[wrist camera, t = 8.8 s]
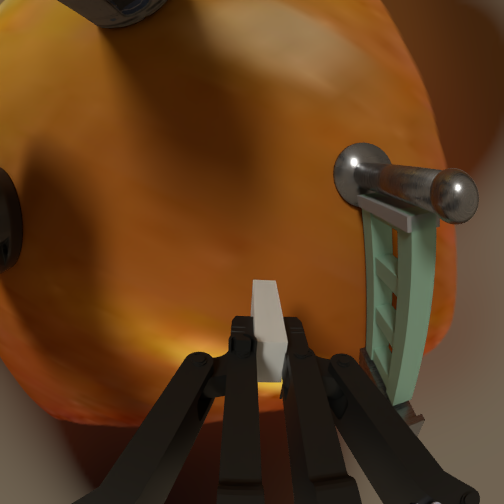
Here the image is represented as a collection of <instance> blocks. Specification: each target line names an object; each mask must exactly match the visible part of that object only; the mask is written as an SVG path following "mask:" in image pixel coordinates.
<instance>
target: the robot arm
mask: <svg viewBox="0 0 504 504" xmlns="http://www.w3.org/2000/svg"><path fill="white" fill-rule="evenodd" d="M21 245H22V218H21V211H20V206H19V201H18V197H17V194H16V191H15V188H14V186H13V183H12V181H11V179H10V178H9V176H8V175H7V173H6V172H5V171H4V170H3V169H2V168H1V167H0V273H3V272H4V271H6V270H7V269H9V268H11V267H12V266H13V265H14V264H15V263H16V261H17V259H18V257H19V254H20V250H21ZM281 379H282V380H283V384H282V389H281V394H280V399H282V397H283V405H284V414H285V421H286V431H287V439H288V448H289V456H290V466H291V474H292V483H293V493H294V504H362V503H361V498H360V494H359V490H358V487H357V483H356V481H355V479H354V478H353V477H351V476H349V475H348V474H347V471H346V467H345V463H344V459H343V455H342V451H341V447H340V443H339V439H338V436H337V432H336V428H335V426H336V427H337V429H338V431H339V432H340V434H341V436H342V437H343V439H344V440H345V442H346V444H347V445H348V447H349V449H350V450H351V452H352V454H353V455H354V457H355V459H356V460H357V462H358V463H359V465H360V467H361V468H362V470H363V472H364V473H365V475H366V476H367V478H368V480H369V481H370V483H371V485H372V486H373V488H374V489H375V491H376V493H377V494H378V496H379V497H380V499H381V500H382V502H383V504H479V502H480V496H479V493H478V491H476V490H475V489H474V488H472V487H470V486H469V485H467V484H465V483H463V482H462V481H460V480H458V479H457V478H455V477H453V476H451V475H450V474H448V473H446V472H445V471H443V469H442V468H441V467H440V465H439V464H438V463H437V461H436V460H435V459H434V458H433V456H432V455H431V454H430V453H429V451H428V450H427V449H426V448H425V446H424V445H423V444H422V442H421V441H420V440H419V439H418V437H417V436H416V435H415V434H414V432H413V431H412V430H411V429H410V427H409V426H408V425H407V424H406V422H405V421H404V420H403V419H402V417H401V416H400V415H399V414H398V412H397V411H396V410H395V409H394V407H393V406H392V405H391V404H390V402H389V401H388V400H387V399H386V397H385V396H384V395H383V394H382V393H381V391H380V390H379V389H378V388H377V386H376V385H375V384H374V383H373V381H372V380H371V379H370V378H369V376H368V375H367V374H366V373H365V372H364V370H363V369H362V368H361V367H360V365H359V364H358V363H357V362H356V361H355V359H354V358H352V357H351V356H349V355H347V354H336V355H333V356H332V357H331V359H330V360H329V359H324V358H320V357H317V356H315V354H314V352H313V351H312V350H311V349H310V348H309V347H308V343H307V340H306V336H305V333H304V329H303V326H302V322H301V321H300V320H299V319H298V318H297V317H283V315H282V310H281V305H280V300H279V295H278V290H277V285H276V281H271V280H253V288H252V304H251V317H250V316H235V318H234V319H233V320H232V326H231V336H230V338H229V351H228V352H227V353H226V354H225V355H223V356H220V357H216V358H212V357H211V356H210V355H209V354H207V353H204V352H194V353H191V354H189V355H188V356H187V357H186V358H185V360H184V361H183V363H182V364H181V366H180V367H179V369H178V370H177V372H176V373H175V375H174V376H173V378H172V379H171V381H170V382H169V384H168V385H167V387H166V388H165V390H164V391H163V393H162V394H161V396H160V397H159V399H158V400H157V402H156V403H155V405H154V406H153V408H152V409H151V411H150V412H149V414H148V415H147V417H146V418H145V420H144V421H143V423H142V424H141V426H140V427H139V429H138V430H137V432H136V433H135V435H134V436H133V438H132V439H131V440H130V442H129V443H128V445H127V446H126V448H125V449H124V451H123V453H122V454H121V455H120V457H119V458H118V460H117V461H116V463H115V464H114V466H113V467H112V469H111V470H110V472H109V473H108V475H107V476H106V478H105V479H104V481H103V482H102V484H101V485H100V487H98V488H96V489H95V490H93V491H92V492H90V493H89V494H87V495H85V496H84V497H82V498H80V499H79V500H77V501H75V502H74V503H72V504H164V502H165V500H166V498H167V496H168V494H169V492H170V490H171V488H172V486H173V484H174V482H175V480H176V478H177V476H178V474H179V472H180V470H181V468H182V466H183V464H184V462H185V460H186V458H187V456H188V454H189V452H190V450H191V447H192V446H193V444H194V441H195V439H196V437H197V435H198V433H199V431H200V429H201V427H202V425H203V423H204V421H205V418H206V416H207V414H208V412H209V410H210V408H211V406H212V404H213V401H214V399H215V397H220V396H225V402H224V415H223V430H222V443H221V457H220V458H221V459H220V473H219V484H218V490H217V504H265V503H264V489H263V485H262V478H261V455H260V430H259V406H258V382H281Z"/></svg>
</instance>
